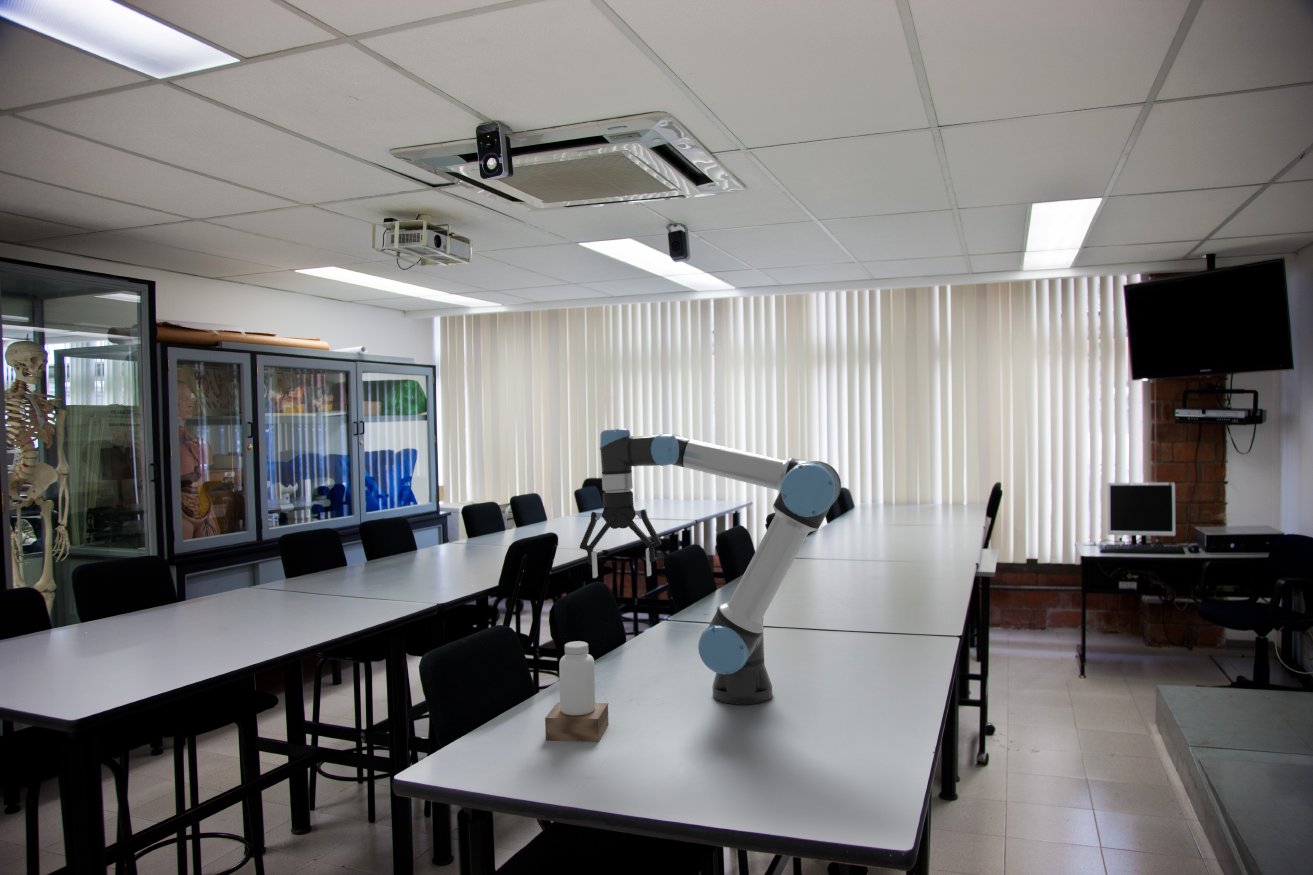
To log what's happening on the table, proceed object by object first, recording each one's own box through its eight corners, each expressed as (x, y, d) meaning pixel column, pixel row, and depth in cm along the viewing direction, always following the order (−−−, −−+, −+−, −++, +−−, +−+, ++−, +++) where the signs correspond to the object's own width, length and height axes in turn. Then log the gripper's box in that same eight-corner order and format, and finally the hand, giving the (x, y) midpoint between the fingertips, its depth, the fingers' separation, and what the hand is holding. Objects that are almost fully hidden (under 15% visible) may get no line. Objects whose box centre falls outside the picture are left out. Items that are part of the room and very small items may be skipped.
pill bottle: (589, 717, 168) (587, 649, 168) (555, 715, 169) (553, 648, 169) (600, 704, 175) (598, 639, 175) (567, 703, 177) (564, 638, 177)
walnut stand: (608, 724, 176) (607, 702, 176) (598, 741, 167) (598, 718, 167) (558, 723, 178) (557, 702, 178) (545, 740, 168) (545, 717, 168)
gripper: (668, 487, 192) (673, 571, 192) (571, 492, 195) (576, 575, 195) (666, 489, 185) (670, 576, 185) (565, 494, 188) (569, 580, 187)
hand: (622, 576), depth 190 cm, fingers open, 13 cm apart
